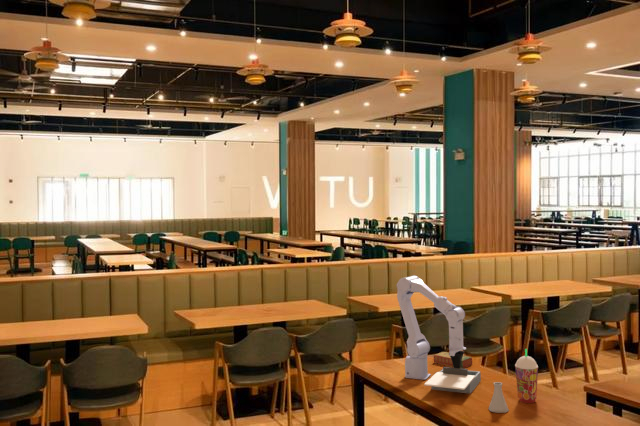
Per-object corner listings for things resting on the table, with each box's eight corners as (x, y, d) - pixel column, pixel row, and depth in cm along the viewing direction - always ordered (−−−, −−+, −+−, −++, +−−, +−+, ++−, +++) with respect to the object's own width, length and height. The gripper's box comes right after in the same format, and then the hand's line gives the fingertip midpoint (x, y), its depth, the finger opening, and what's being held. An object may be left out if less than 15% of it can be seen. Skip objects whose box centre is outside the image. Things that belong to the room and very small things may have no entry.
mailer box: (431, 389, 262) (431, 379, 262) (443, 377, 278) (443, 368, 278) (470, 393, 255) (470, 383, 255) (480, 381, 271) (480, 371, 271)
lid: (424, 385, 254) (424, 377, 254) (437, 373, 270) (437, 365, 270) (464, 389, 247) (464, 381, 247) (475, 376, 263) (475, 369, 263)
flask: (509, 407, 238) (508, 381, 237) (508, 414, 231) (507, 386, 230) (489, 406, 240) (488, 379, 240) (487, 412, 233) (486, 385, 233)
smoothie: (511, 399, 246) (509, 348, 246) (528, 396, 250) (527, 345, 249) (526, 405, 239) (524, 352, 238) (543, 402, 242) (542, 349, 241)
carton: (443, 359, 308) (443, 351, 308) (472, 365, 296) (472, 356, 296) (433, 363, 302) (433, 354, 302) (462, 369, 290) (462, 360, 290)
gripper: (461, 341, 259) (461, 374, 260) (469, 333, 272) (470, 365, 273) (444, 340, 262) (444, 372, 263) (453, 332, 275) (454, 363, 276)
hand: (456, 368), depth 268 cm, fingers closed
